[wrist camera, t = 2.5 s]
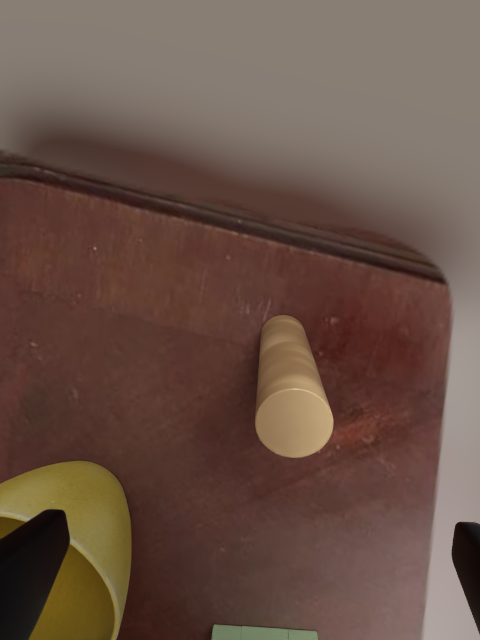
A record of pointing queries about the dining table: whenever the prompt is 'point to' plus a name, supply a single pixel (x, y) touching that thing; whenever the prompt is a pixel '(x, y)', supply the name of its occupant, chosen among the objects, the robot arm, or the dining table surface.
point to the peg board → (259, 633)
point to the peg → (290, 392)
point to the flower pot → (78, 546)
